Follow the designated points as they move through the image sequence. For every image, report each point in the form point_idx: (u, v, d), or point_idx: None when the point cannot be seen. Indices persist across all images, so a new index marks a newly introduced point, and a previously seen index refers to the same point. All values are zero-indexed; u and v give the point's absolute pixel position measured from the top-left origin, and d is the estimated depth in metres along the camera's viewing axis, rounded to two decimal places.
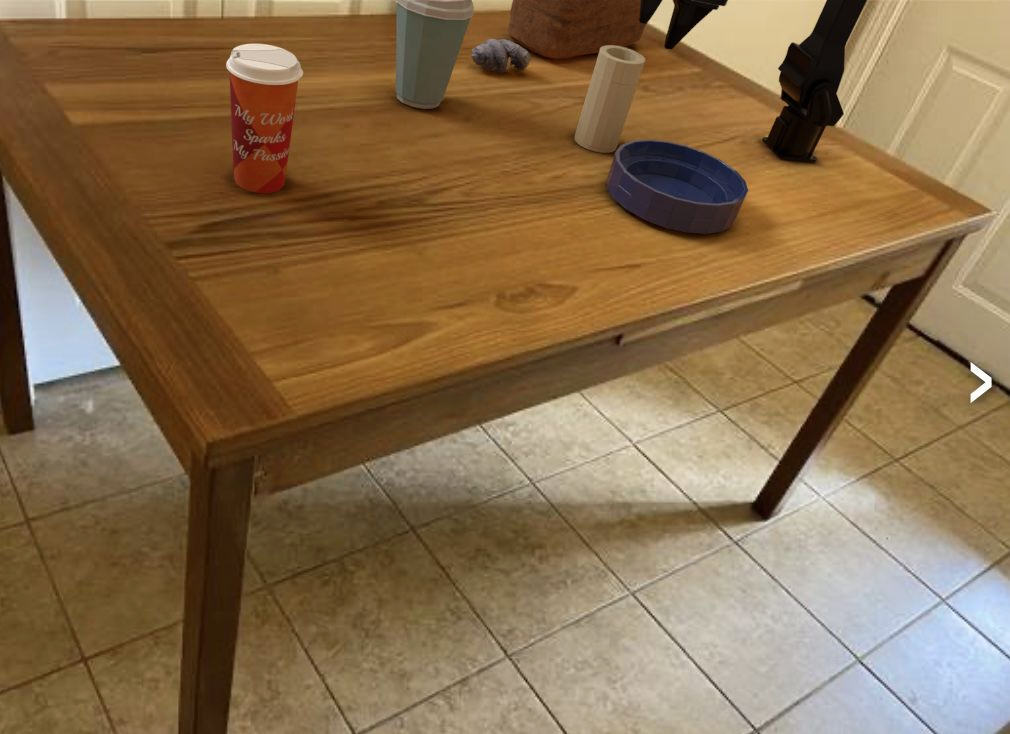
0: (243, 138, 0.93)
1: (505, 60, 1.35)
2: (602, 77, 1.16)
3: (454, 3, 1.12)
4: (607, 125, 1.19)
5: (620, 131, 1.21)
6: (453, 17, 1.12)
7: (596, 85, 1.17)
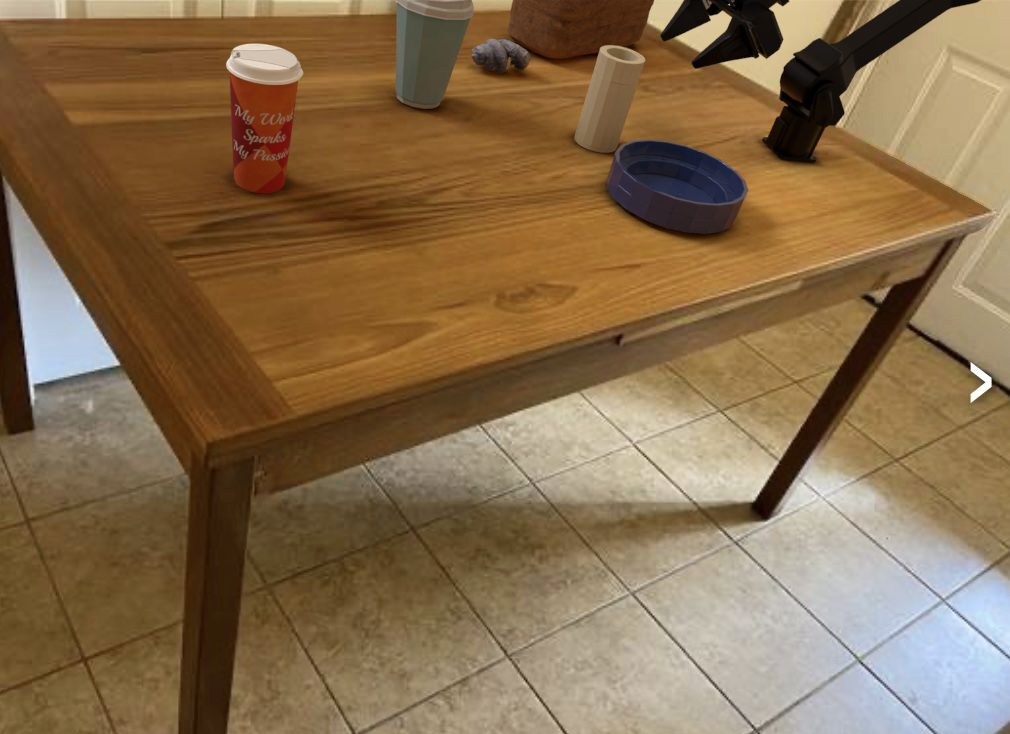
0: (243, 138, 0.93)
1: (505, 60, 1.35)
2: (602, 77, 1.16)
3: (454, 3, 1.12)
4: (607, 125, 1.19)
5: (620, 131, 1.21)
6: (453, 17, 1.12)
7: (596, 85, 1.17)
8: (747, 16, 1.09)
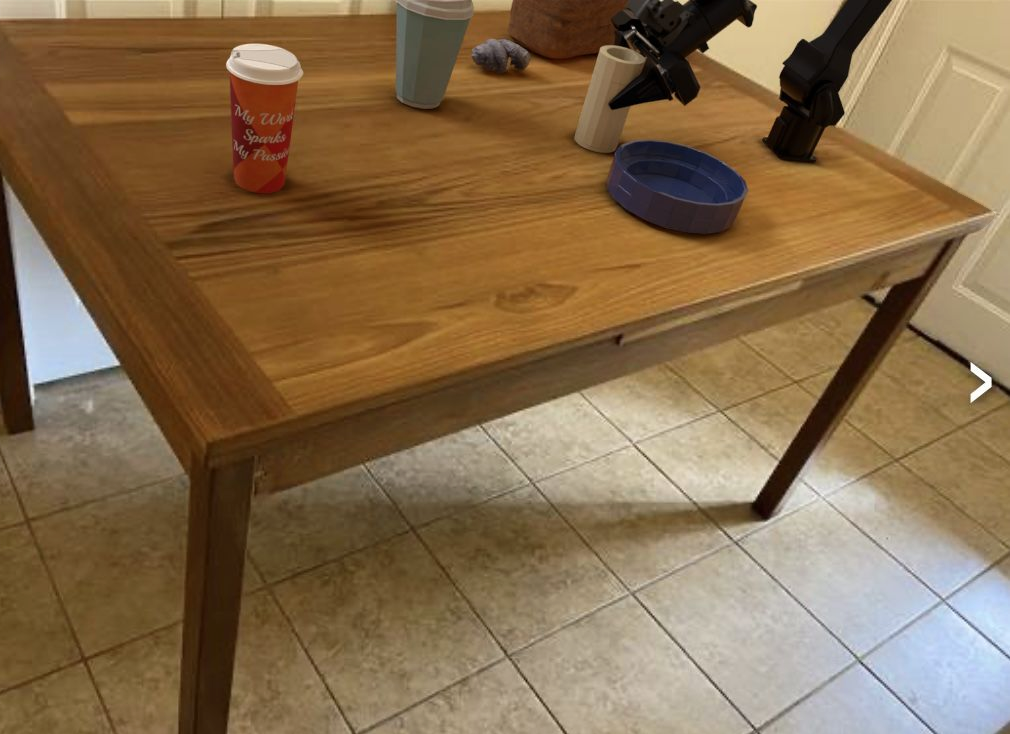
0: (243, 138, 0.93)
1: (505, 60, 1.35)
2: (602, 77, 1.16)
3: (454, 3, 1.12)
4: (607, 125, 1.19)
5: (620, 131, 1.21)
6: (453, 17, 1.12)
7: (596, 85, 1.17)
8: (663, 65, 1.10)
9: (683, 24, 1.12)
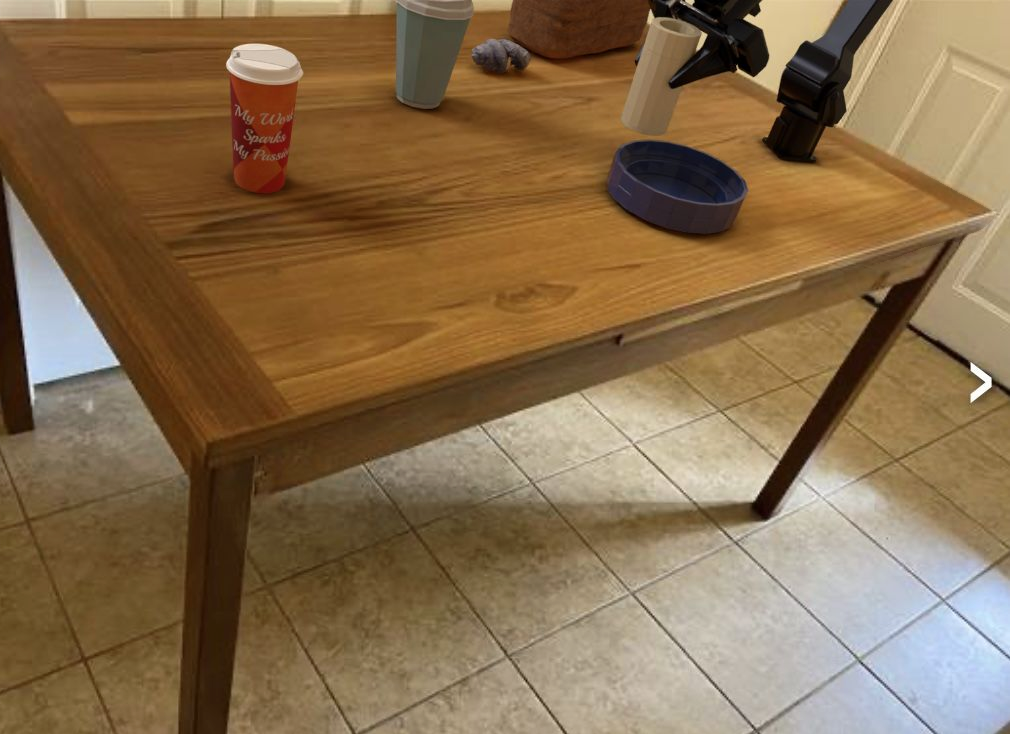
0: (243, 138, 0.93)
1: (505, 60, 1.35)
2: (660, 54, 1.05)
3: (454, 3, 1.12)
4: (664, 106, 1.09)
5: None
6: (453, 17, 1.12)
7: (652, 64, 1.06)
8: (736, 36, 1.01)
9: None
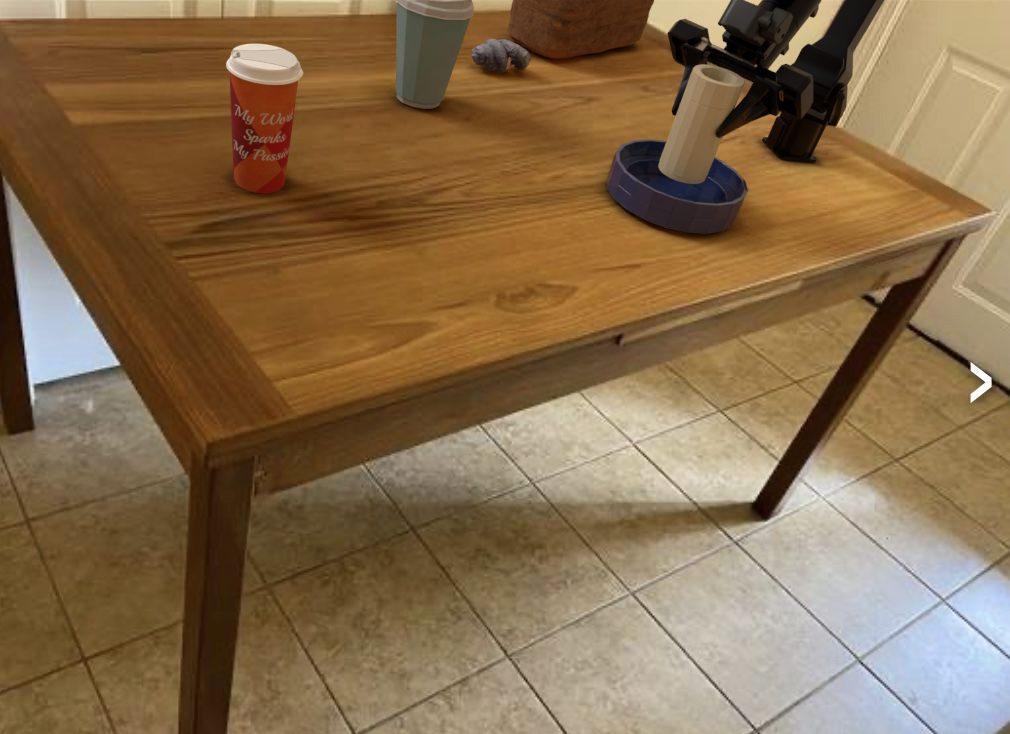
0: (243, 138, 0.93)
1: (505, 60, 1.35)
2: (708, 106, 1.02)
3: (454, 3, 1.12)
4: (709, 154, 1.07)
5: None
6: (453, 17, 1.12)
7: (699, 115, 1.03)
8: (787, 84, 0.99)
9: None
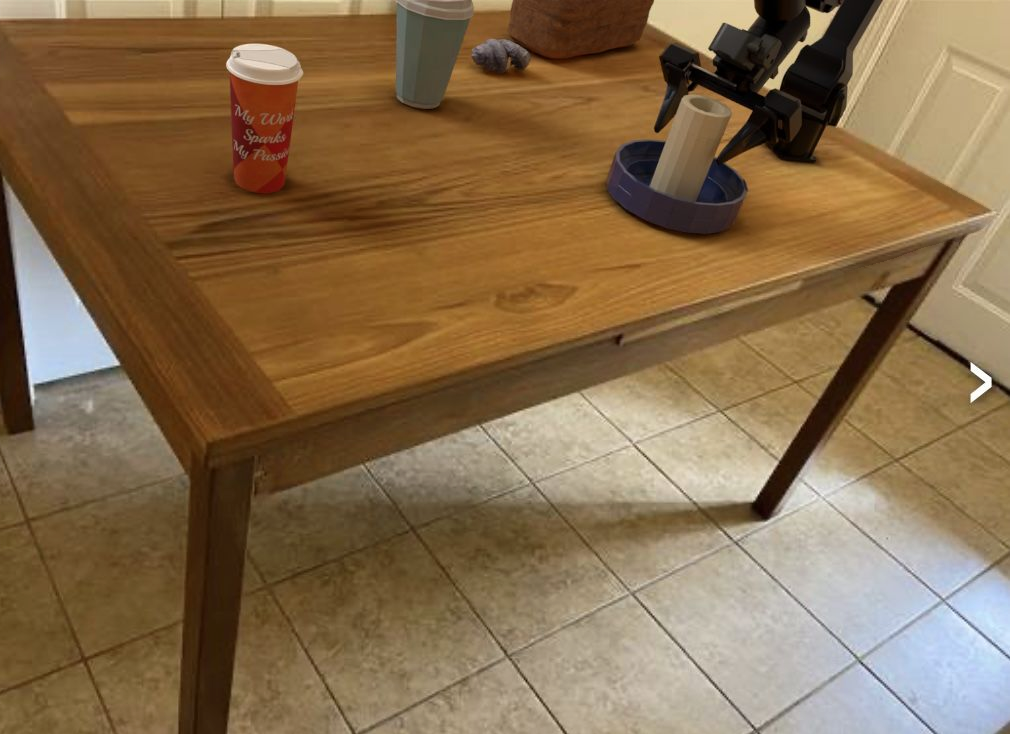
0: (243, 138, 0.93)
1: (505, 60, 1.35)
2: (696, 135, 1.05)
3: (454, 3, 1.12)
4: (698, 182, 1.09)
5: None
6: (453, 17, 1.12)
7: (688, 144, 1.06)
8: (776, 108, 1.01)
9: None
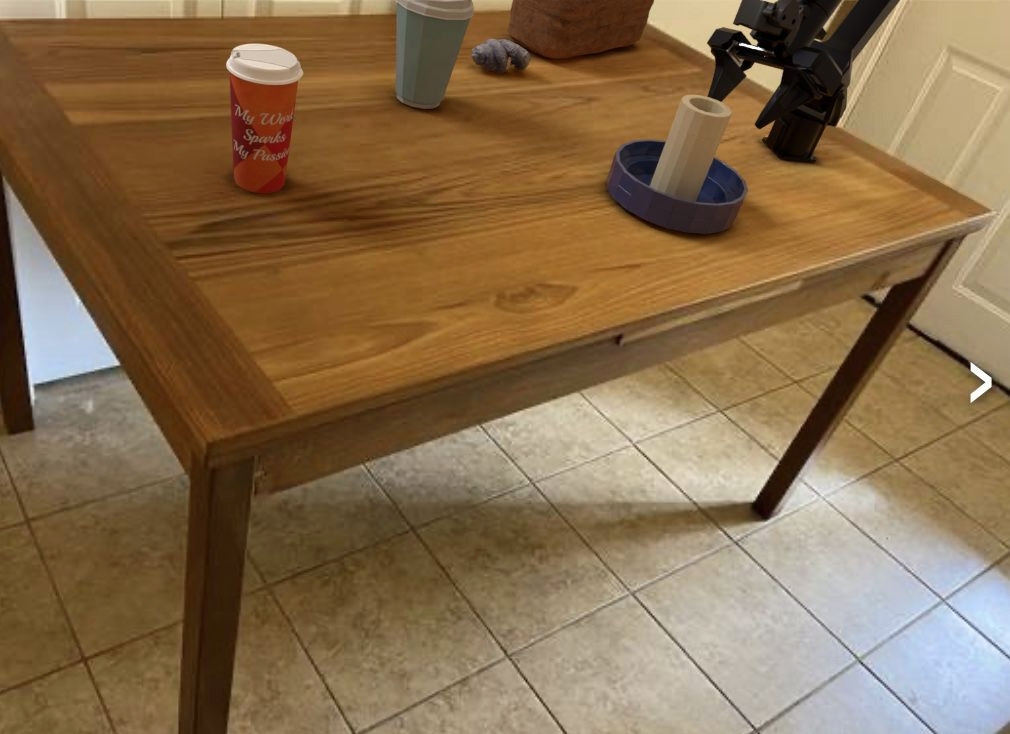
0: (243, 138, 0.93)
1: (505, 60, 1.35)
2: (696, 135, 1.05)
3: (454, 3, 1.12)
4: (698, 182, 1.09)
5: None
6: (453, 17, 1.12)
7: (688, 144, 1.06)
8: (801, 64, 1.04)
9: (800, 18, 1.07)
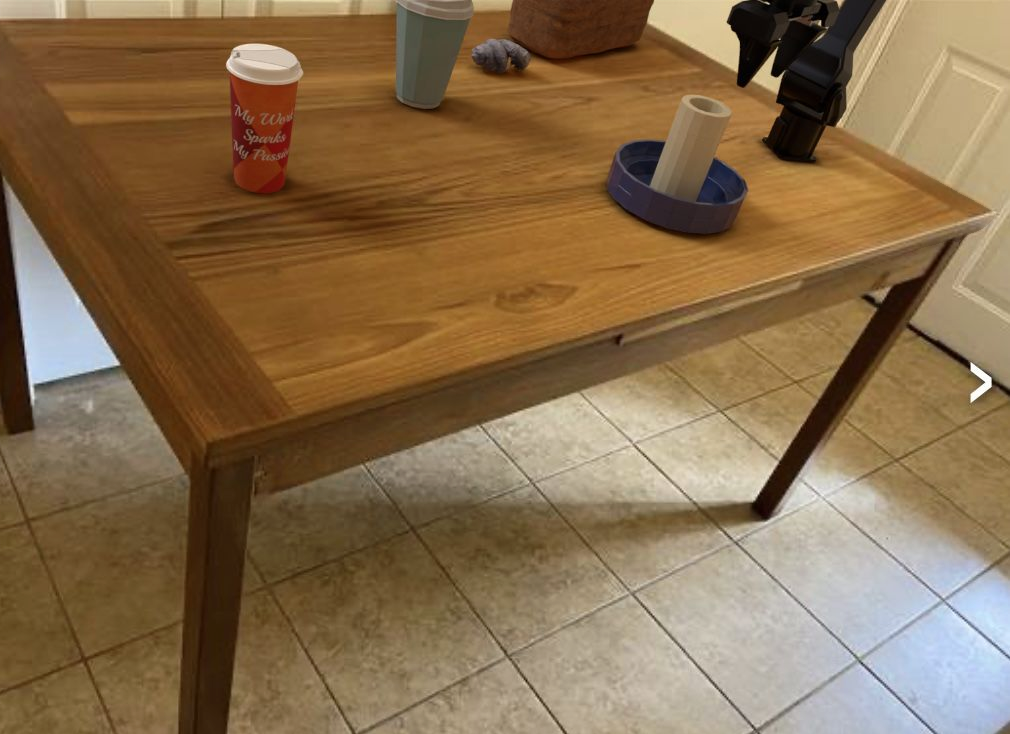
0: (243, 138, 0.93)
1: (505, 60, 1.35)
2: (696, 135, 1.05)
3: (454, 3, 1.12)
4: (698, 182, 1.09)
5: None
6: (453, 17, 1.12)
7: (688, 144, 1.06)
8: None
9: None
